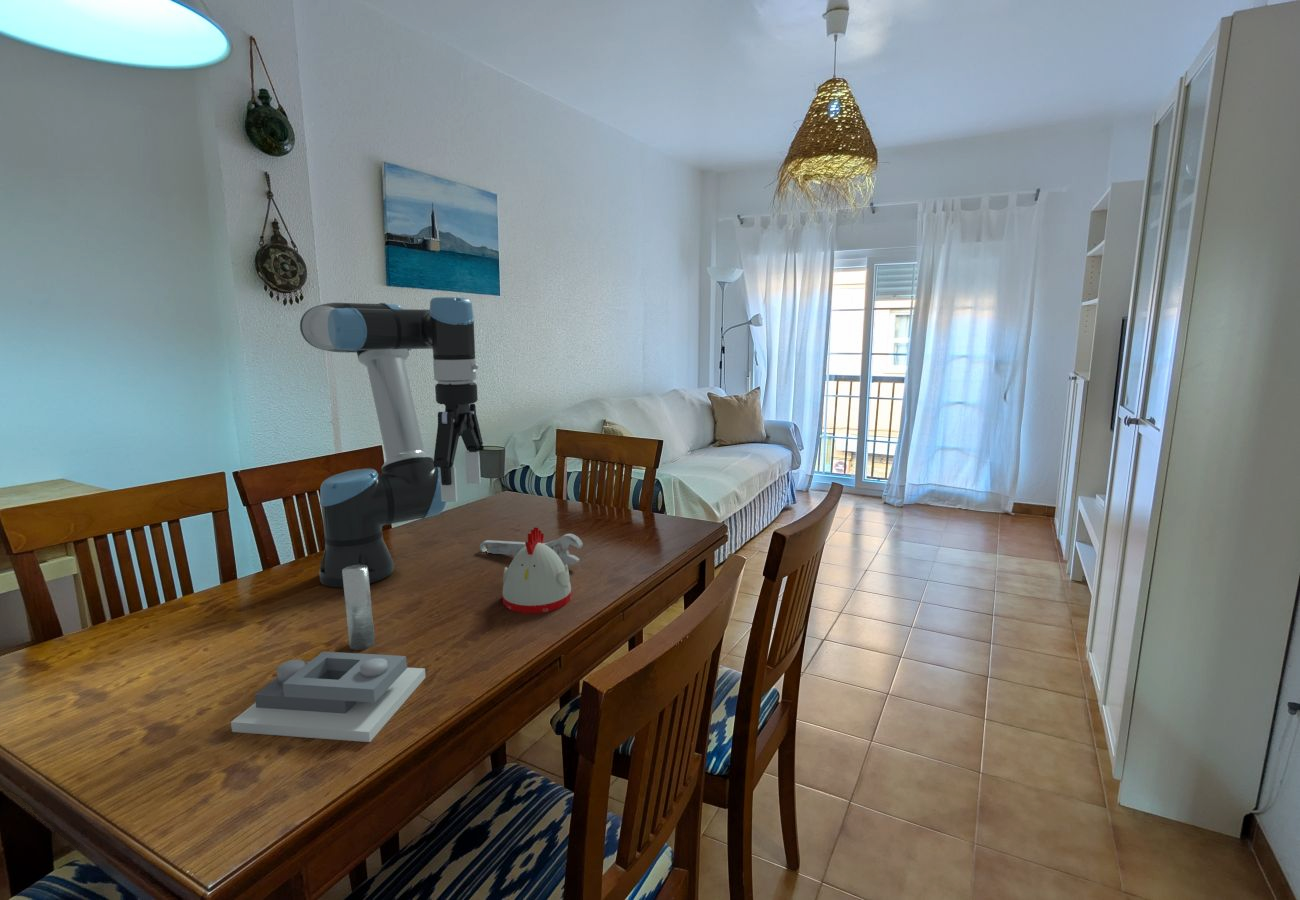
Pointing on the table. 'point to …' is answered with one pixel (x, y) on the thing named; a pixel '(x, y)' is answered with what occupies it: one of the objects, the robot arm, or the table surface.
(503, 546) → the wrench
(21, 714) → the table surface
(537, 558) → the kitchen timer
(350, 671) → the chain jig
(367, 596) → the pin
